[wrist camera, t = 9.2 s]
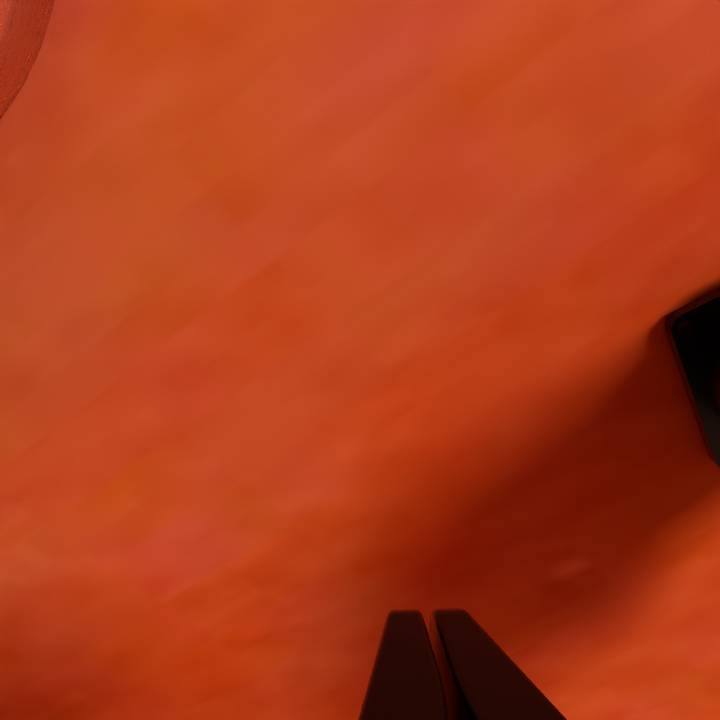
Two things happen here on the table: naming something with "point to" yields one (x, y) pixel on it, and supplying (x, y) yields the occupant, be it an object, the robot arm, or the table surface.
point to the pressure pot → (19, 43)
